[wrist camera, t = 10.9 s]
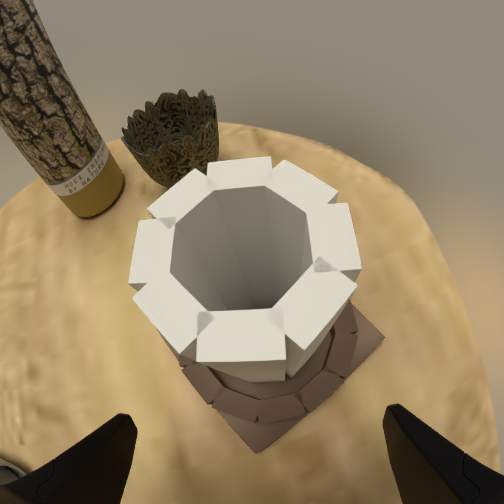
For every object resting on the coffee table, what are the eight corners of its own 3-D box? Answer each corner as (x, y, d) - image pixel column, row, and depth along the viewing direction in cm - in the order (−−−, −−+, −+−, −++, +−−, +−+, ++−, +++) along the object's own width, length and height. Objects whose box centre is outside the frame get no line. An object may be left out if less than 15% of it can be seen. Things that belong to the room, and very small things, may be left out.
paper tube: (132, 164, 29) (36, -42, 7) (118, 215, 25) (-23, -19, 3) (83, 175, 29) (-20, 2, 7) (66, 224, 26) (-72, 39, 4)
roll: (333, 330, 18) (396, 231, 7) (269, 401, 16) (241, 415, 6) (264, 274, 20) (239, 134, 10) (201, 337, 18) (98, 253, 8)
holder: (380, 340, 18) (394, 331, 15) (257, 451, 15) (252, 460, 13) (274, 236, 23) (272, 216, 20) (159, 328, 20) (142, 317, 18)
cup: (140, 202, 26) (102, 140, 19) (182, 148, 29) (158, 86, 22) (206, 225, 24) (176, 155, 17) (246, 163, 27) (233, 91, 19)
